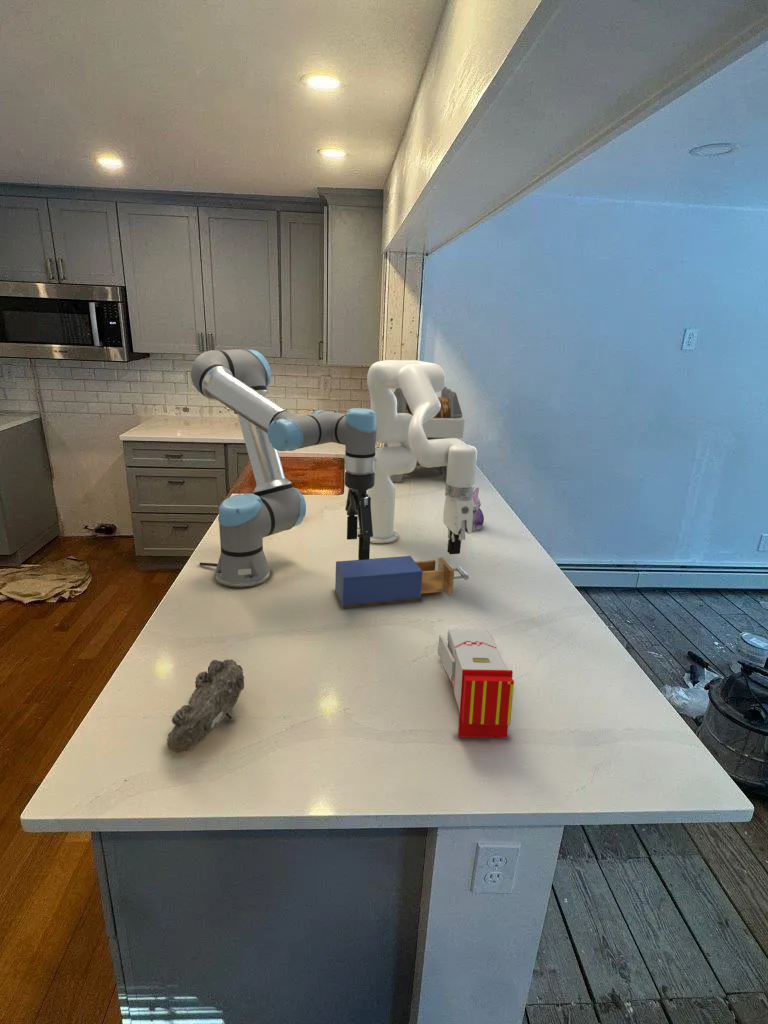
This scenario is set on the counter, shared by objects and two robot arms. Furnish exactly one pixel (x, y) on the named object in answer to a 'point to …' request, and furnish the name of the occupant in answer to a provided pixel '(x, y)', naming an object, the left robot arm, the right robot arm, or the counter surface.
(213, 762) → the counter surface
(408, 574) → the cabinet
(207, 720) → the fossil
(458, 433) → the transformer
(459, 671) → the toy
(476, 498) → the figurine
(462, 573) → the drawer
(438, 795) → the counter surface
